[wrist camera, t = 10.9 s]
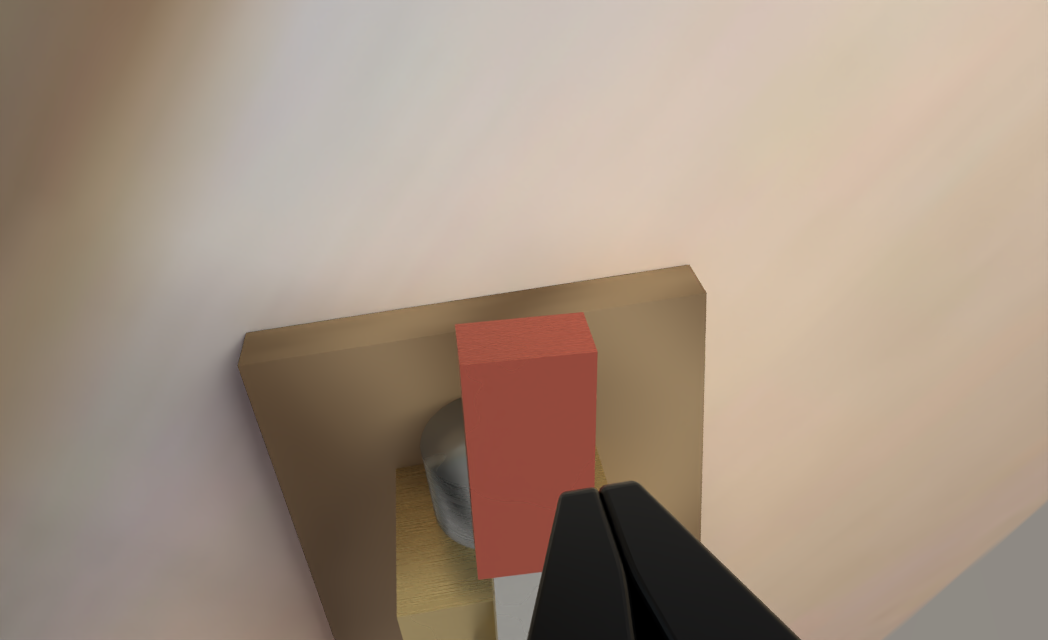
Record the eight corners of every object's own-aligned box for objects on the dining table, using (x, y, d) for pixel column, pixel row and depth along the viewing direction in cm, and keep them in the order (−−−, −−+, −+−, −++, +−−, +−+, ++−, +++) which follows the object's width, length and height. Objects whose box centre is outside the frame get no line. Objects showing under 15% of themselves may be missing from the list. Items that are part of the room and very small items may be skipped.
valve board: (355, 656, 30) (354, 695, 29) (246, 332, 22) (237, 365, 21) (685, 598, 31) (698, 633, 29) (689, 264, 23) (706, 292, 22)
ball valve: (438, 642, 28) (448, 820, 23) (380, 407, 22) (378, 577, 18) (605, 612, 28) (648, 782, 23) (588, 374, 23) (640, 532, 18)
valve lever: (586, 725, 21) (596, 772, 20) (483, 741, 21) (487, 789, 20) (595, 311, 14) (609, 350, 13) (443, 325, 14) (447, 366, 13)
